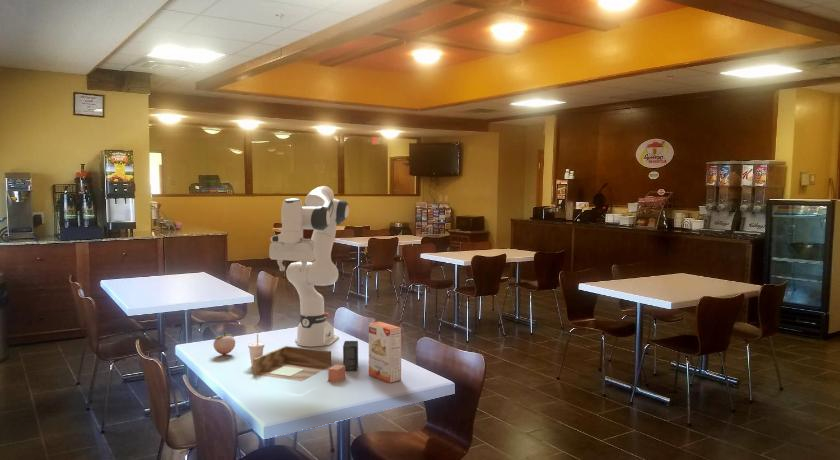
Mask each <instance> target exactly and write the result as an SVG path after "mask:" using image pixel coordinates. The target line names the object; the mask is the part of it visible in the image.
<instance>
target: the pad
mask: <svg viewBox="0 0 840 460" xmlns="http://www.w3.org/2000/svg"><path fill="white" fill-rule="evenodd" d="M303 370H305V369H300V368H293V367H285V366H283V367H281V368H279V369H277V370H274V371H272V372H270V373H269V374H275V375H282V376H289V377H291V376H293V375H295V374H297V373H299V372H301V371H303Z"/></svg>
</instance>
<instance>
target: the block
mask: <svg viewBox="0 0 840 460" xmlns="http://www.w3.org/2000/svg"><path fill="white" fill-rule="evenodd" d="M327 369H328V377H327V378H328V382H331V383H339V382H341V381H343V380H344V379H346V371H345V370H346V369H345V365H343V364H335V365H333V366H332V365H331V366H330V367H328V368H327Z"/></svg>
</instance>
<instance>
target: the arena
mask: <svg viewBox="0 0 840 460" xmlns="http://www.w3.org/2000/svg"><path fill="white" fill-rule="evenodd" d="M283 366H285V367H293V368H300V369H305V370H303V371H301V372H299V373H297V374H295V375H293V376H291V377H289V376H282V375H275V374H269V373H270V372H272V371H274V370H277V369H279V368H281V367H283ZM330 367H332V350H323V349H316V348H307V347H298V346H297V347H296V346H290V345H284V346H282V347H279V348H277V349H275V350H272V351H270V352H267V353H265V354H263V355H262V356H260V357H257V358H255V359H253V367H252V368H253V375H255V376H262V377H268V378H269V377H270V378H276V379H285V380H290V381H291V380H292V381H296V382H297V381H299V382H303V381H305V380H306V379H309V378H311V377H313V376H314V375H317V374H318V373H320V372H322V371H324V370H326V369H329V368H330Z"/></svg>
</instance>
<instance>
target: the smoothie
mask: <svg viewBox="0 0 840 460" xmlns="http://www.w3.org/2000/svg"><path fill="white" fill-rule="evenodd" d="M247 346H248V347H247V348H249V354H250V364H251V367H252V368H253V359H255V358H257V357H260V356H262V355H264V347H265V343H263V342H259V333H256V342H251V343H249V344H248V345H247Z"/></svg>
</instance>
